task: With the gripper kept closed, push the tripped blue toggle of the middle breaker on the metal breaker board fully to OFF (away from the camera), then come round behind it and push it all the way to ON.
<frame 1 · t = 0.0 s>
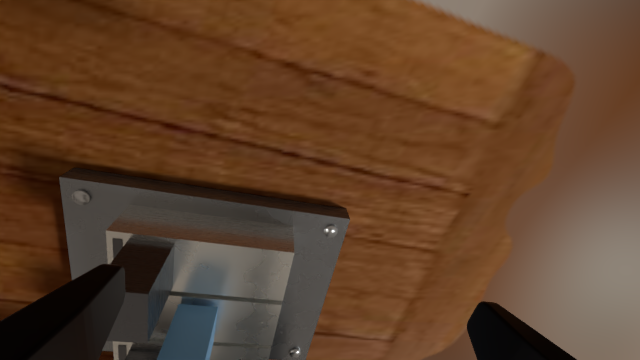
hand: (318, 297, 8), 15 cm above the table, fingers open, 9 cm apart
blue toggle: (188, 351, 19), point 7 cm above the table, slide at 3.0 cm
breaker board: (211, 274, 25), on the table
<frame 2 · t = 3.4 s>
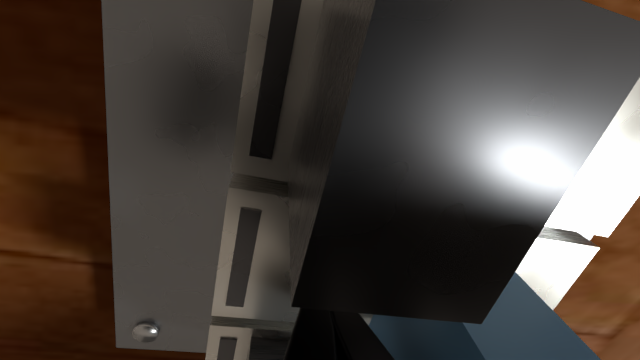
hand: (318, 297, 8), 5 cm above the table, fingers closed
blue toggle: (462, 355, 7), point 7 cm above the table, slide at 2.6 cm, touching gripper
breaker board: (371, 204, 13), on the table
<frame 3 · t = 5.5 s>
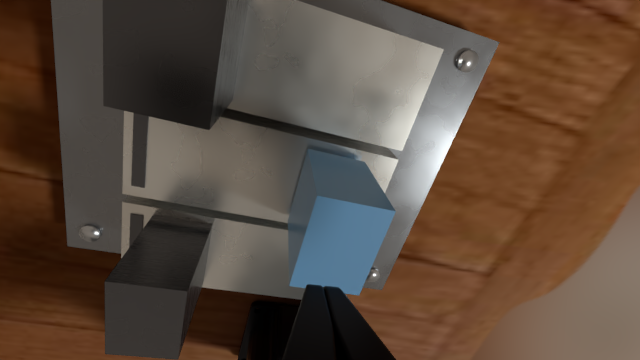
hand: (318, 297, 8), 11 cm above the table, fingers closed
blue toggle: (331, 216, 11), point 7 cm above the table, slide at 0.3 cm
breaker board: (268, 142, 17), on the table
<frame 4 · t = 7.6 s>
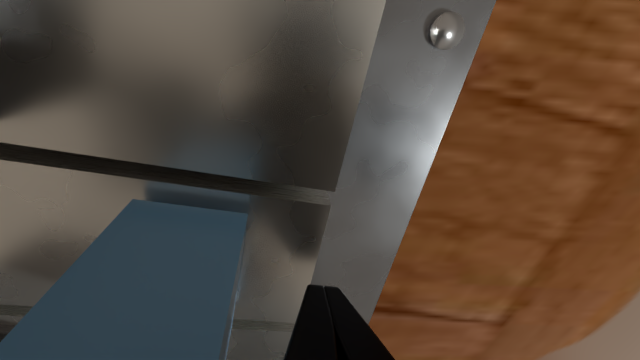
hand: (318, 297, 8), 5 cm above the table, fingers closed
blue toggle: (159, 337, 6), point 7 cm above the table, slide at 0.8 cm, touching gripper
breaker board: (161, 174, 12), on the table
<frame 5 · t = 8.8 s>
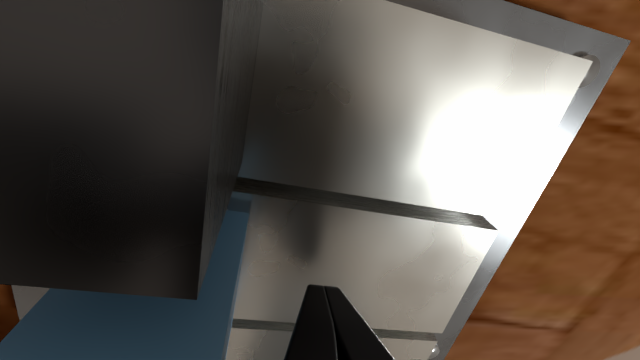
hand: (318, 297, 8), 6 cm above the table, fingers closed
blue toggle: (160, 336, 6), point 7 cm above the table, slide at 5.7 cm, touching gripper
breaker board: (290, 192, 12), on the table
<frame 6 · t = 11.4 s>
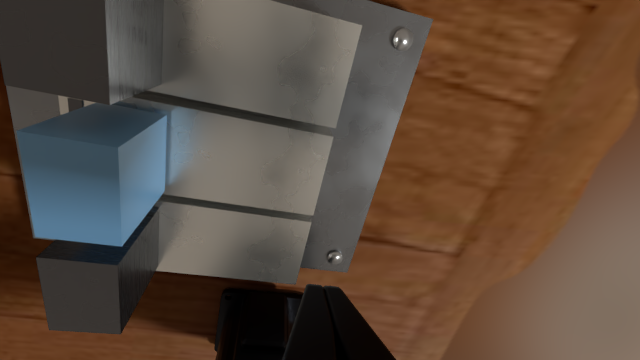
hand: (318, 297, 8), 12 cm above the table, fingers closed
blue toggle: (109, 168, 11), point 7 cm above the table, slide at 5.7 cm
breaker board: (221, 130, 18), on the table
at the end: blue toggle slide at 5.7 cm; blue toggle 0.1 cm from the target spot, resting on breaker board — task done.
